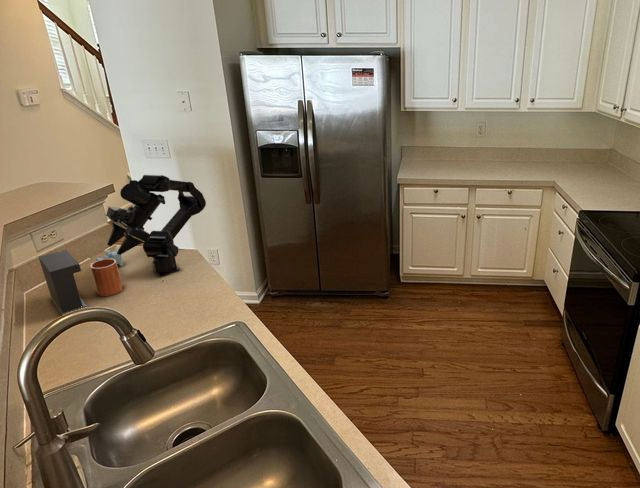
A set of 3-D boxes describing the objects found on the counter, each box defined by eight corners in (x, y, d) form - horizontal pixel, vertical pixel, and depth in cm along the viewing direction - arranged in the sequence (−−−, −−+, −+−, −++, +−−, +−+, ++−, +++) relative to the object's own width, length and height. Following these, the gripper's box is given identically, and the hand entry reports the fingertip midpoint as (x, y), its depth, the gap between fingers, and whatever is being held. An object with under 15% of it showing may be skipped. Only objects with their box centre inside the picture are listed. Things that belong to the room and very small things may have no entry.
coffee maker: (78, 291, 140) (66, 249, 135) (91, 307, 132) (79, 263, 126) (51, 299, 135) (38, 256, 130) (63, 316, 127) (49, 272, 121)
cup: (118, 283, 145) (111, 256, 142) (125, 290, 141) (119, 263, 137) (95, 290, 140) (87, 263, 137) (101, 298, 136) (94, 270, 133)
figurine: (97, 268, 154) (93, 253, 152) (122, 261, 160) (119, 246, 158) (101, 272, 152) (97, 256, 150) (126, 264, 158) (123, 249, 155)
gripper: (110, 190, 142) (79, 230, 138) (131, 203, 130) (97, 247, 127) (141, 207, 150) (112, 245, 146) (163, 221, 139) (132, 262, 135)
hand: (113, 249), depth 138 cm, fingers open, 9 cm apart
